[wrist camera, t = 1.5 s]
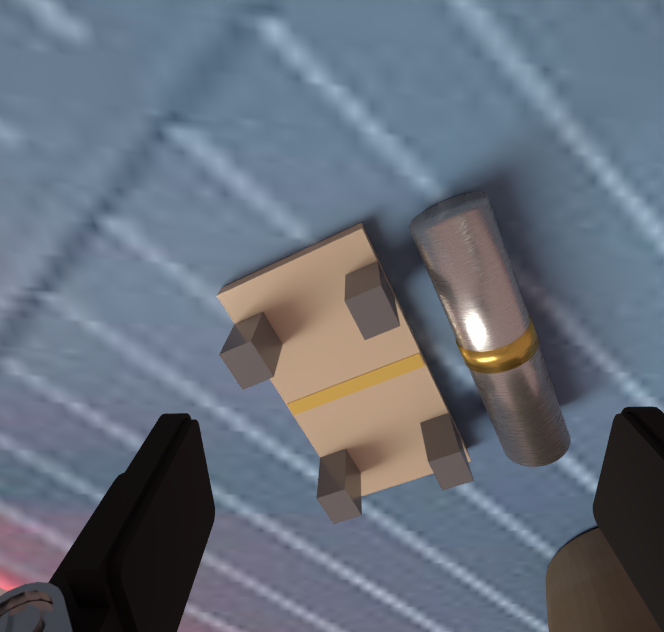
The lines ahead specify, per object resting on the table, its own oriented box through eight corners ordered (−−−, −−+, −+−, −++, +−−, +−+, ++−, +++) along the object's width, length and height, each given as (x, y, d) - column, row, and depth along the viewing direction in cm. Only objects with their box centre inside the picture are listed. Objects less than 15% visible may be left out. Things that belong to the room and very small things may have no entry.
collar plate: (361, 222, 32) (363, 248, 26) (467, 448, 40) (484, 503, 35) (221, 287, 34) (198, 323, 29) (348, 487, 43) (347, 543, 37)
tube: (403, 218, 32) (412, 240, 27) (477, 184, 30) (499, 202, 26) (493, 430, 39) (512, 476, 34) (555, 409, 38) (584, 454, 33)
